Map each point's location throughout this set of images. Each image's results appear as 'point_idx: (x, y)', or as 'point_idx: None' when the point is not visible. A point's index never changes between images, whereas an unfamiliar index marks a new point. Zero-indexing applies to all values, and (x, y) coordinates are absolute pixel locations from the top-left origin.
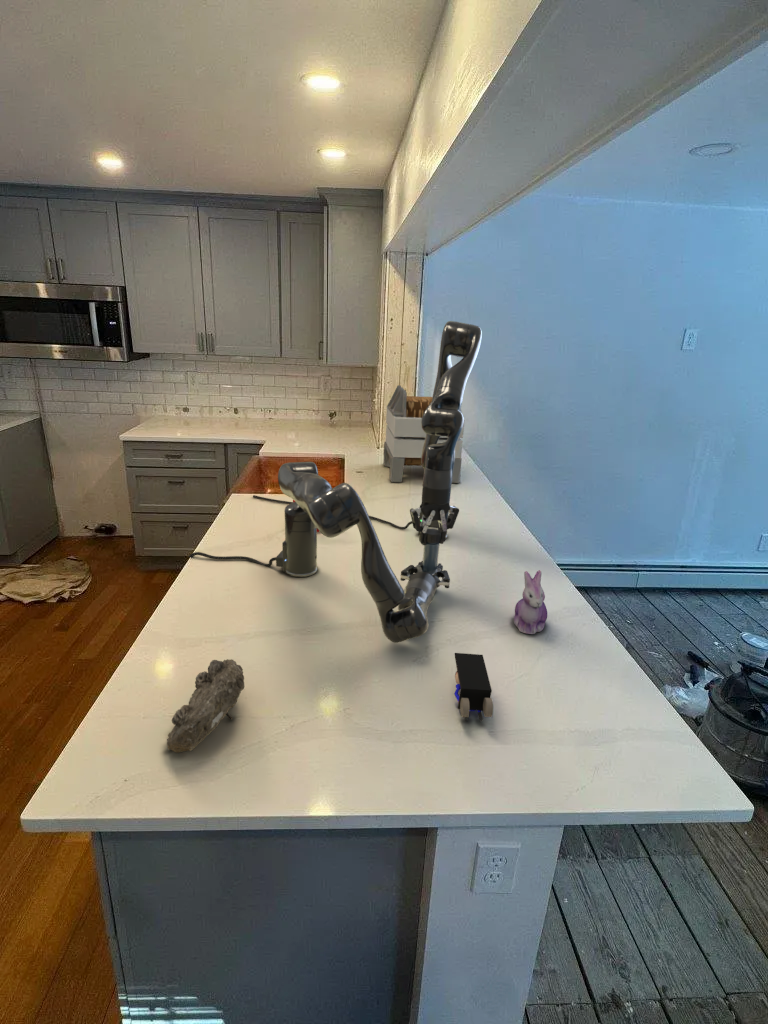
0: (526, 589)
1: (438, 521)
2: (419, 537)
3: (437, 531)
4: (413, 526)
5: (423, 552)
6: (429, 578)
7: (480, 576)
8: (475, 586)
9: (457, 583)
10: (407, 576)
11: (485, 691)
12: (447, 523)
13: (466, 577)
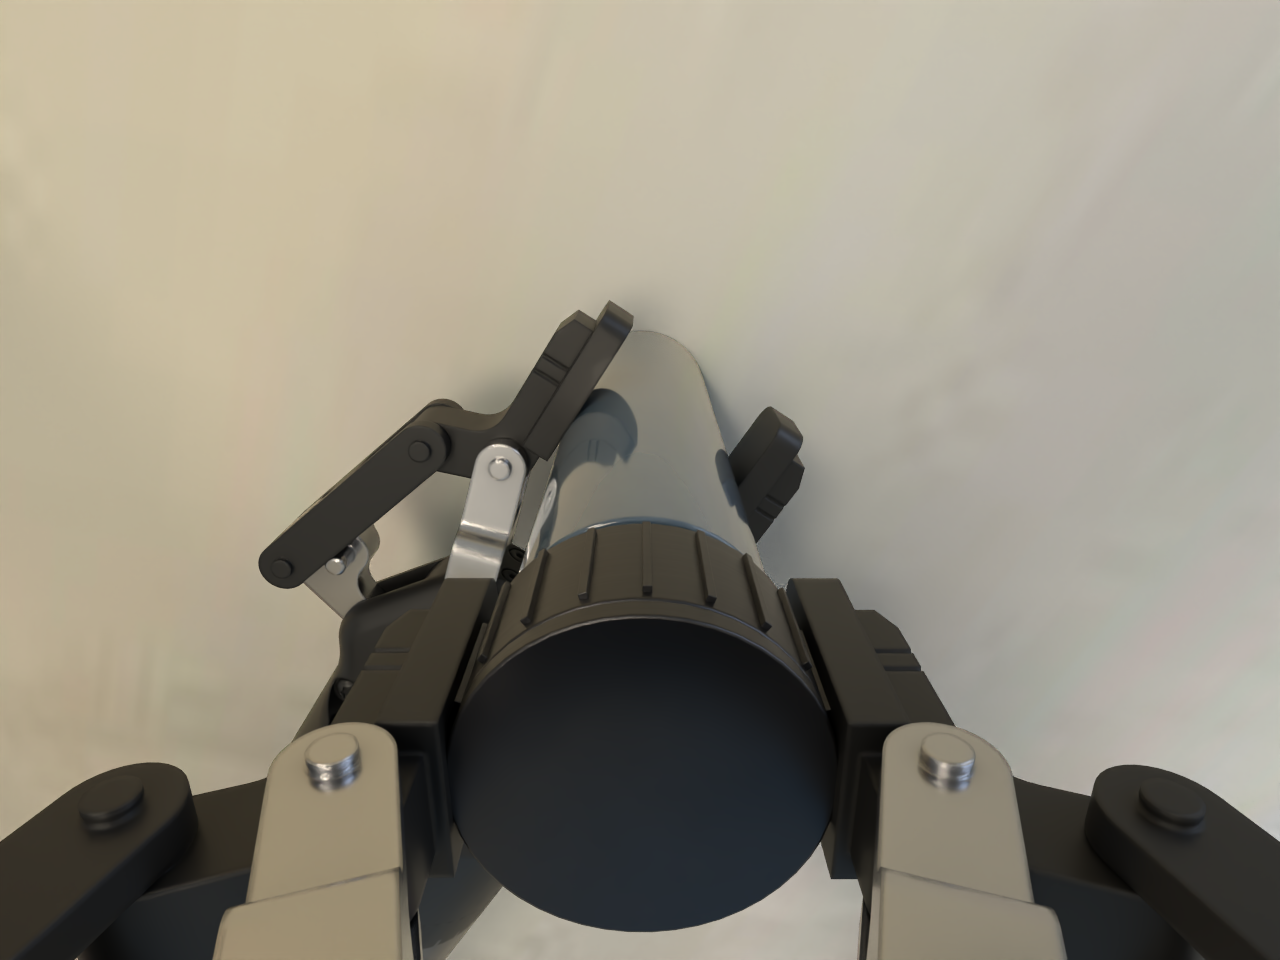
0: None
1: (872, 911)
2: (369, 666)
3: (756, 796)
4: (53, 828)
5: (537, 512)
6: (452, 904)
7: (1267, 244)
8: (1083, 419)
9: (964, 328)
10: (332, 605)
11: None
12: (1114, 932)
13: (1122, 231)
